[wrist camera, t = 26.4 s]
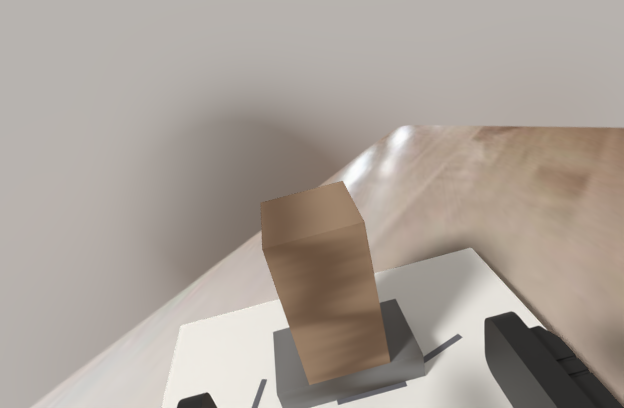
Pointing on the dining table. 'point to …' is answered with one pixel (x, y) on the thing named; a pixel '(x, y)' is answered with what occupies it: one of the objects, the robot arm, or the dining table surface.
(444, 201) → the dining table surface
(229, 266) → the dining table surface
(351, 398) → the board
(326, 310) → the block
